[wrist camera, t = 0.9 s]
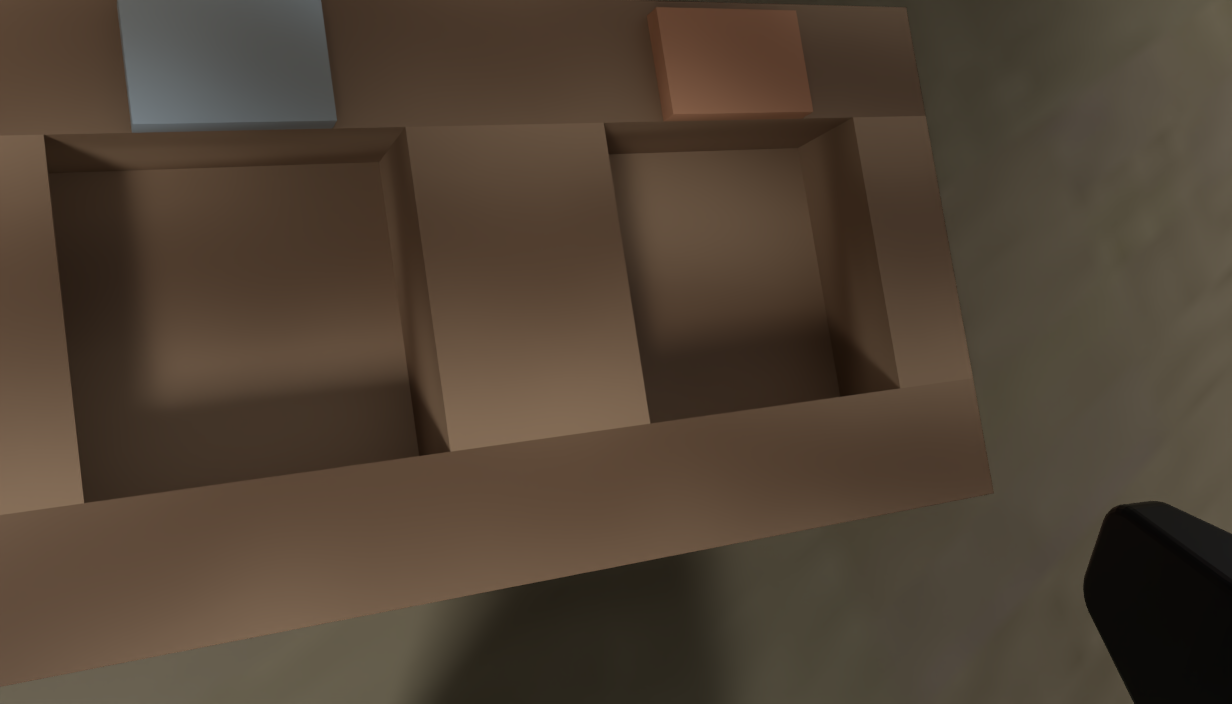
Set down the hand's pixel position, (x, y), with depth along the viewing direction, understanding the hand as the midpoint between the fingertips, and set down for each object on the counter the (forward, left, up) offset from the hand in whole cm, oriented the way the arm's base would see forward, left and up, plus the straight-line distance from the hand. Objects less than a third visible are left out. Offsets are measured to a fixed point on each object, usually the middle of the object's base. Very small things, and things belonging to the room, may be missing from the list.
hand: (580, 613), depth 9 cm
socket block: (+4, -4, -12) cm, 14 cm away
